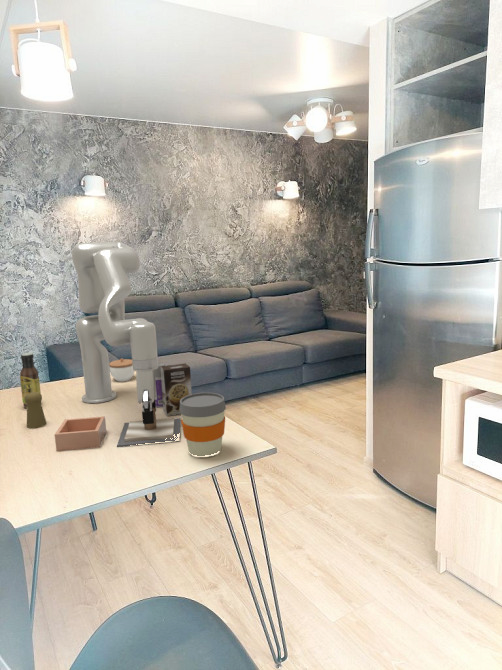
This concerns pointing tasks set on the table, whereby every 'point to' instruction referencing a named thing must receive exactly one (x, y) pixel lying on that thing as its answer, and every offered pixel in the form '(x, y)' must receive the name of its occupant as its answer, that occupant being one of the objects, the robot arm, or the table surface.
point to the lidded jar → (121, 369)
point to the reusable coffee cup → (203, 422)
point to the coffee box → (175, 387)
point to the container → (158, 386)
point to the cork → (34, 410)
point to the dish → (80, 433)
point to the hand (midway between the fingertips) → (149, 417)
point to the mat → (122, 440)
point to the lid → (150, 429)
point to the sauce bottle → (28, 376)
